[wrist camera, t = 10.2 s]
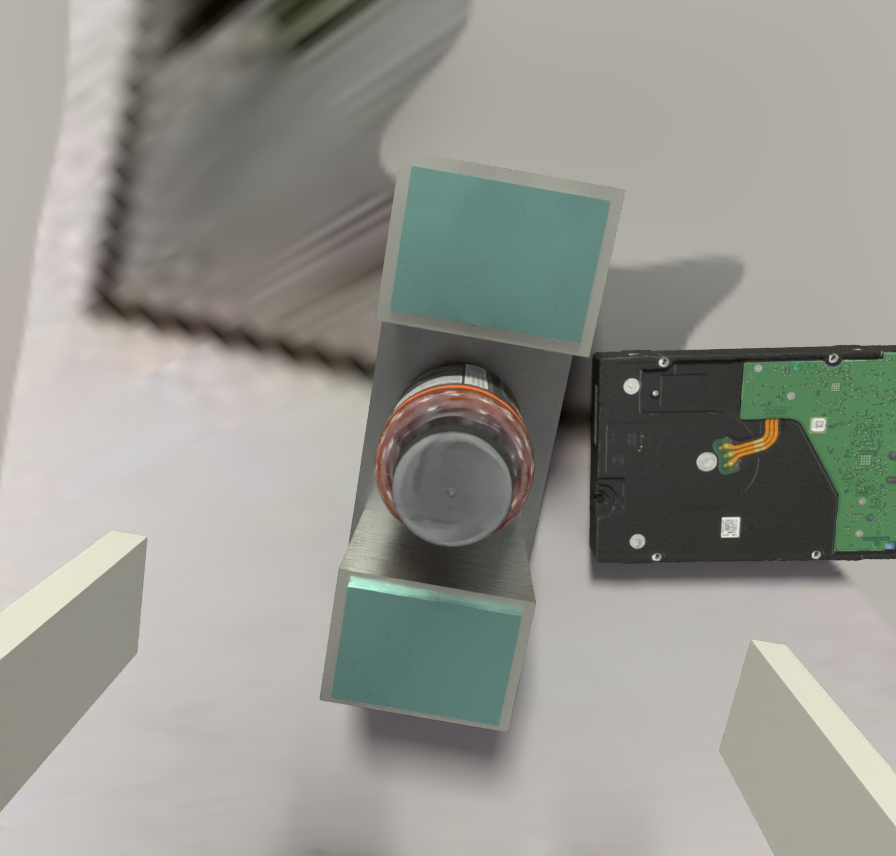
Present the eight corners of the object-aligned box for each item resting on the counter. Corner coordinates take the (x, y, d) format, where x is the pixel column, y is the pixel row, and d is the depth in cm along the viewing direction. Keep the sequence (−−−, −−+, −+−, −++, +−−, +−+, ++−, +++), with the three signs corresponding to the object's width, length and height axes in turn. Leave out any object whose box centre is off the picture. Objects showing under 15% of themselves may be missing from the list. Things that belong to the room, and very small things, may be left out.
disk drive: (587, 546, 38) (878, 539, 37) (595, 568, 36) (909, 562, 35) (587, 349, 36) (897, 338, 35) (596, 357, 33) (932, 345, 32)
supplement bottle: (529, 469, 35) (556, 564, 24) (409, 489, 36) (381, 592, 24) (509, 347, 34) (527, 390, 23) (384, 370, 34) (343, 422, 23)
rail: (507, 641, 39) (518, 750, 30) (341, 612, 39) (303, 714, 30) (600, 198, 34) (645, 176, 25) (409, 163, 34) (387, 130, 25)
